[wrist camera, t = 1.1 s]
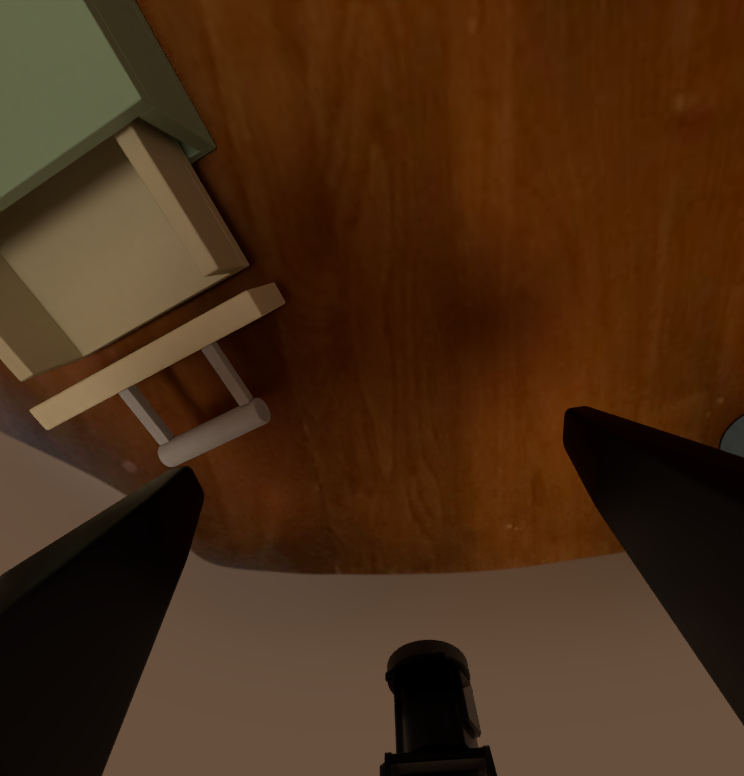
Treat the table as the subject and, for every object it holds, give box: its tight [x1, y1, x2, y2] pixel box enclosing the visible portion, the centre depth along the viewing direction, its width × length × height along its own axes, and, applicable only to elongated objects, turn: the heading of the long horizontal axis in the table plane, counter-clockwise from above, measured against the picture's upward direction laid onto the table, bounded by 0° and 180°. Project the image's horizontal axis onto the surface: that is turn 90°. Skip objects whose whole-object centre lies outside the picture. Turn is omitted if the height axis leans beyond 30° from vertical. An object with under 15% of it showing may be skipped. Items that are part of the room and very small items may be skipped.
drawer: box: [0, 117, 285, 467], centre depth 16 cm, size 21×12×4 cm, turn 27°
